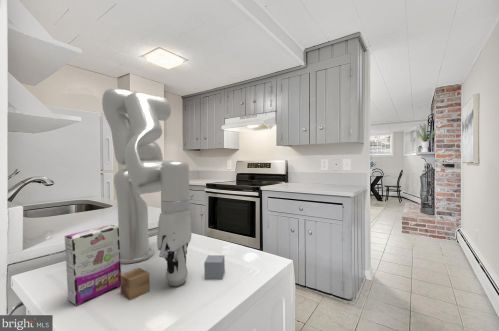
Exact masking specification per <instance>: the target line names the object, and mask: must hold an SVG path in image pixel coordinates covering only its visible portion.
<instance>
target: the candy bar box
mask: <svg viewBox="0 0 499 331" xmlns="http://www.w3.org/2000/svg"><path fill="white" fill-rule="evenodd" d="M64 248H65V249H64V250H65V264H66V265H65V266H66V283H67V284H66V285H67V299H68V302H70V301H71V302H72V304H73V303H74V304H75V306H76V305H78V306H80V305H82V304H85V303H87V302H89V301H91V300H93V299H95V298H97V297H100V296H102V295H103V294H106V293H109V292H110V291H112V290H114V289H117V288H118V287H121V276H120V275H122V269H121V268H122V265H121V264H122V263H120V242H119V227H118V226H117V225H113V224H108V225H103V226H100V227H95V228H92V229H91V228H90V229H87V230H83V231H80V232H75V233H71V234H66V235H64ZM71 302H70V303H71ZM84 302H85V303H84ZM74 304H73V305H74ZM79 304H80V305H79Z"/></svg>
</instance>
